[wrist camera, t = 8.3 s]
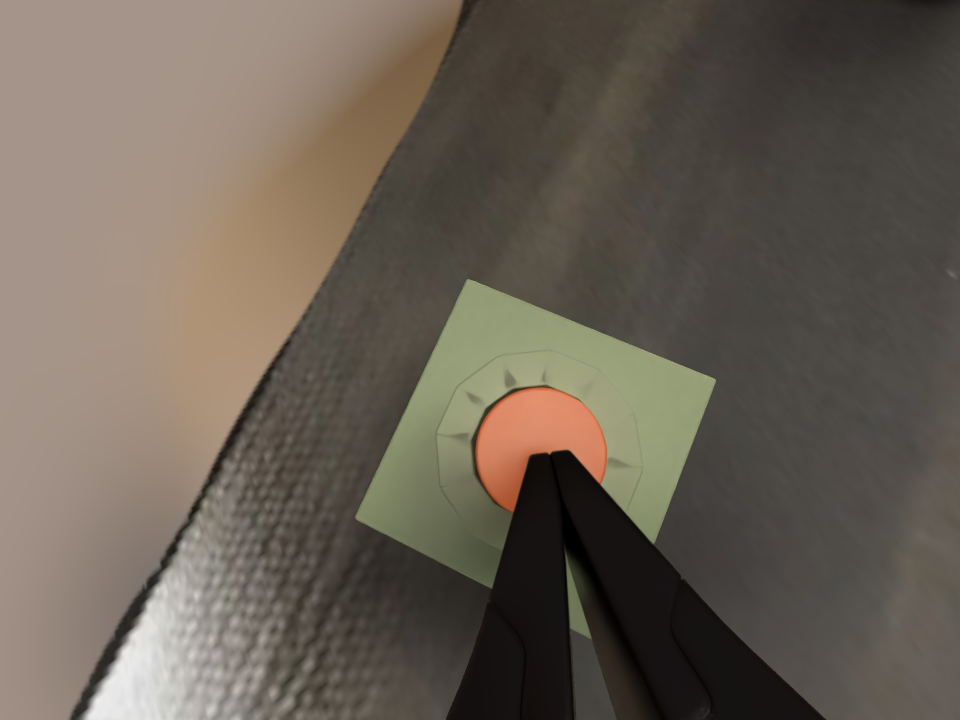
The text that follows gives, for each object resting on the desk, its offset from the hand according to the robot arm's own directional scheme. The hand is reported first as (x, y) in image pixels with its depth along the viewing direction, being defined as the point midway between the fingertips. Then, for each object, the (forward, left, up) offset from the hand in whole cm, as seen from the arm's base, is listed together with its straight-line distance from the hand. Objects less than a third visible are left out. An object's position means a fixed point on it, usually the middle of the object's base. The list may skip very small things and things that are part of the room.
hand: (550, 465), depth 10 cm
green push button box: (0, 0, -13) cm, 13 cm away
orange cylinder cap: (0, 0, -5) cm, 5 cm away
